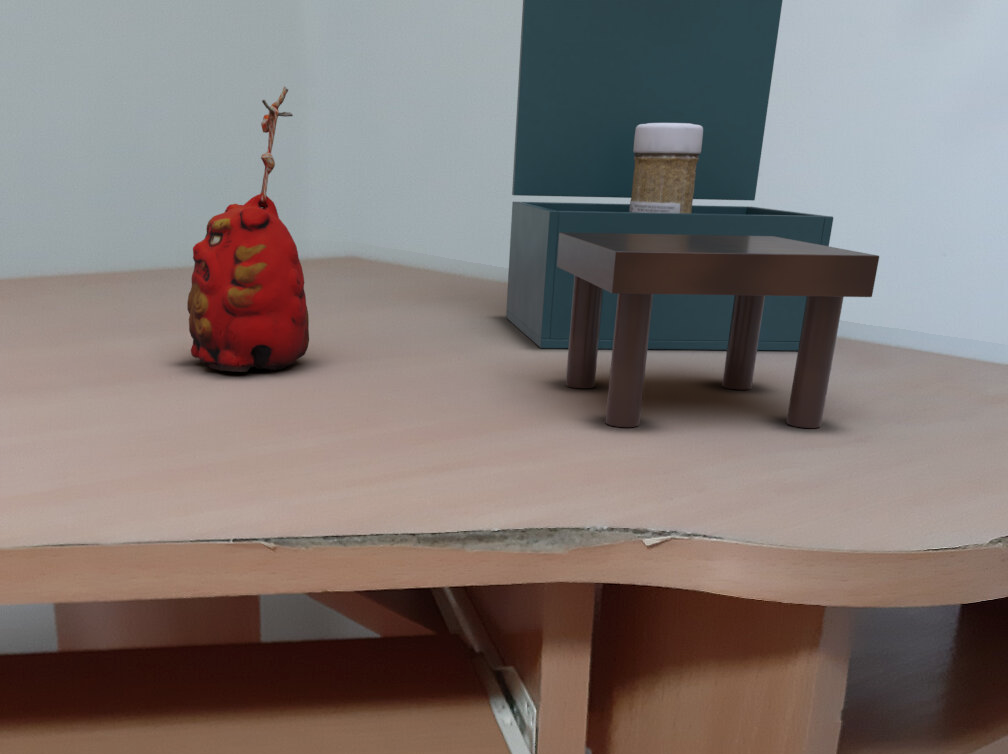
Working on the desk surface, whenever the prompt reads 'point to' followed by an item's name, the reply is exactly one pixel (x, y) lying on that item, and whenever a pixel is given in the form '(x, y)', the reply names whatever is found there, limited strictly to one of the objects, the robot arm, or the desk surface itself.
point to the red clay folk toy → (249, 283)
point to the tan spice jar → (665, 167)
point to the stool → (707, 271)
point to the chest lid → (641, 91)
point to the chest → (674, 318)
